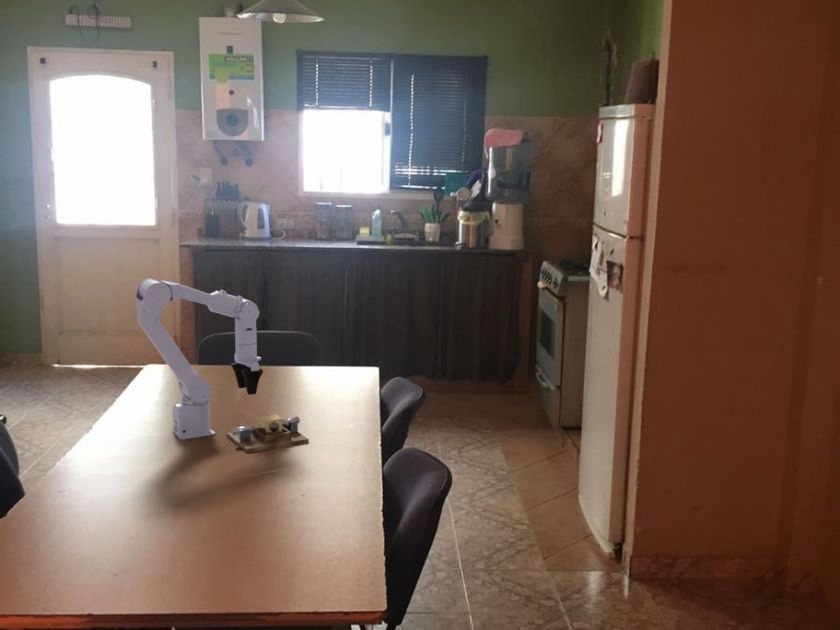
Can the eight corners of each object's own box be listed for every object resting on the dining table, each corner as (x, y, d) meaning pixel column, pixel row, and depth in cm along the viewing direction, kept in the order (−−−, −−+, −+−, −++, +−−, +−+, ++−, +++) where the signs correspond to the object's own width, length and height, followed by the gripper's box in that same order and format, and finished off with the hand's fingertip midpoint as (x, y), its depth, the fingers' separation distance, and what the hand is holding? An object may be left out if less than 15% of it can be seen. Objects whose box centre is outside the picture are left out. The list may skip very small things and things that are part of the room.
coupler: (283, 439, 228) (282, 419, 227) (266, 441, 226) (266, 421, 225) (276, 433, 232) (275, 413, 231) (259, 436, 230) (259, 415, 229)
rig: (246, 452, 220) (246, 441, 219) (226, 436, 232) (226, 425, 232) (308, 442, 229) (308, 431, 228) (286, 427, 241) (286, 417, 241)
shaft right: (292, 428, 238) (292, 415, 237) (302, 430, 236) (301, 417, 235) (279, 432, 234) (279, 419, 233) (289, 434, 232) (289, 421, 231)
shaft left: (233, 443, 224) (233, 429, 223) (231, 439, 227) (231, 425, 227) (255, 441, 226) (255, 428, 225) (253, 437, 229) (253, 424, 229)
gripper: (269, 346, 234) (270, 395, 237) (251, 336, 247) (252, 383, 249) (244, 349, 231) (245, 398, 233) (226, 339, 243) (228, 386, 246)
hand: (247, 390), depth 241 cm, fingers open, 7 cm apart
